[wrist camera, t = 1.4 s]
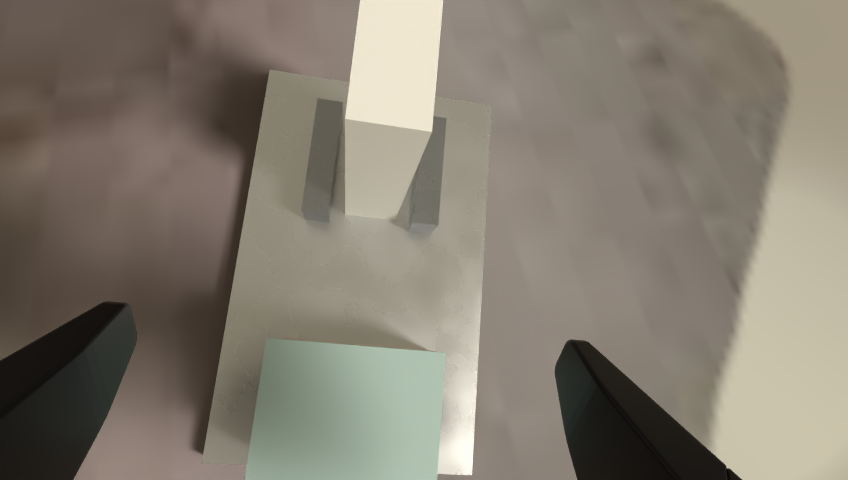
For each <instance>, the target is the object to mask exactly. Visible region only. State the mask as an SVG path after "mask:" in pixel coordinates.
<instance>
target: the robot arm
mask: <svg viewBox="0 0 848 480" xmlns="http://www.w3.org/2000/svg"><path fill="white" fill-rule="evenodd" d="M136 341H137V331H136V327H135V323H134V318H133V314H132V310H131V307H130V305H129V304H127V303H121V302H109V301H108V302H103V303H101V304H99V305H97V306H95V307H94V308H92V309H90V310H88V311H87V312H85V313H83V314H81V315H80V316H78V317H76V318H74V319H73V320H71V321H69V322H67V323H66V324H64V325H62V326H60V327H59V328H57V329H55V330H53V331H52V332H50V333H48V334H46V335H45V336H43V337H41V338H39V339H37V340H36V341H34V342H32V343H30V344H29V345H27V346H25V347H23V348H22V349H20V350H18V351H16V352H15V353H13V354H11V355H9V356H8V357H6V358H4V359H2V360H1V361H0V480H73V479H74V477H75V476H76V474H77V472H78V470H79V468H80V466H81V464H82V463H83V461H84V459H85V457H86V455H87V453H88V451H89V449H90V448H91V446H92V444H93V442H94V440H95V438H96V436H97V435H98V433H99V431H100V429H101V427H102V425H103V423H104V421H105V419H106V417H107V415H108V412H109V410H110V408H111V405H112V403H113V400H114V398H115V395H116V393H117V390H118V388H119V385H120V383H121V380H122V378H123V375H124V373H125V370H126V368H127V365H128V363H129V360H130V358H131V355H132V353H133V350H134V348H135V345H136ZM555 378H556V384H557V390H558V396H559V402H560V407H561V413H562V419H563V425H564V430H565V435H566V440H567V444H568V448H569V452H570V455H571V459H572V462H573V466H574V469H575V473H576V476H577V480H742V479H741V478H739V477H738V476H737V475H736V474H735V473H734V472H733V471H732V470H731V469H727V468H726V465H725V464H724V463H723V462H722V461H720V460H719V459H718V458H717V457H716V456H715V455H714V454H713V453H711V452H710V451H709V450H708V449H707V448H706V447H705V446H704V445H703V444H701V443H700V442H699V441H698V440H697V439H696V438H695V437H694V436H693V435H691V434H690V433H689V432H688V431H687V430H686V429H685V428H684V427H683V426H681V425H680V424H679V423H678V422H677V421H676V420H675V419H674V418H672V417H671V416H670V415H669V414H668V413H667V412H666V411H665V410H664V409H662V408H661V407H660V406H659V405H658V404H657V403H656V402H655V401H654V400H652V399H651V398H650V397H649V396H648V395H647V394H646V393H645V392H644V391H642V390H641V389H640V388H639V387H638V386H637V385H636V384H635V383H633V382H632V381H631V380H630V379H629V378H628V377H627V376H626V375H625V374H623V373H622V372H621V371H620V370H619V369H618V368H617V367H616V366H615V365H613V364H612V363H611V362H610V361H609V360H608V359H607V358H606V357H605V356H603V355H602V354H601V353H600V352H599V351H598V350H597V349H596V348H594V347H593V346H592V345H591V344H590V343H589V342H587V341H583V340H569V341H567V342H566V344H565V346H564V348H563V350H562V352H561V354H560V356H559V359H558V361H557V363H556V366H555Z"/></svg>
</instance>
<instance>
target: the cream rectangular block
mask: <svg viewBox="0 0 848 480" xmlns="http://www.w3.org/2000/svg"><path fill="white" fill-rule="evenodd" d="M442 8H443V0H360V7H359V14H358V22H357V30H356V38H355V45H354V53H353V61H352V68H351V76H350V84H349V92H348V99H347V107H346V115H345V215H353V216H361V217H370V218H378V219H386V220H394V221H395V219H396V217H397V214H398V212H399V209H400V207H401V205H402V202H403V200H404V198H405V195H406V193H407V190H408V188H409V186H410V183H411V181H412V178H413V176H414V174H415V171H416V169H417V167H418V164H419V162H420V159H421V157H422V155H423V152H424V150H425V147H426V145H427V143H428V140H429V138H430V136H431V133H432V126H433V114H434V103H435V91H436V79H437V67H438V55H439V43H440V31H441V19H442Z"/></svg>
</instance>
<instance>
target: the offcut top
mask: <svg viewBox="0 0 848 480" xmlns="http://www.w3.org/2000/svg"><path fill="white" fill-rule="evenodd" d="M445 357H446V353H444V352H437V351H425V350H413V349H401V348H389V347H376V346H364V345H352V344H340V343H328V342H315V341H303V340H291V339H279V338H266V343H265V349H264V356H263V362H262V369H261V375H260V382H259V388H258V395H257V401H256V408H255V414H254V421H253V427H252V434H251V441H250V447H249V454H248V460H247V467H246V473H245V480H437V473H438V458H439V444H440V429H441V415H442V401H443V386H444V372H445Z"/></svg>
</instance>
